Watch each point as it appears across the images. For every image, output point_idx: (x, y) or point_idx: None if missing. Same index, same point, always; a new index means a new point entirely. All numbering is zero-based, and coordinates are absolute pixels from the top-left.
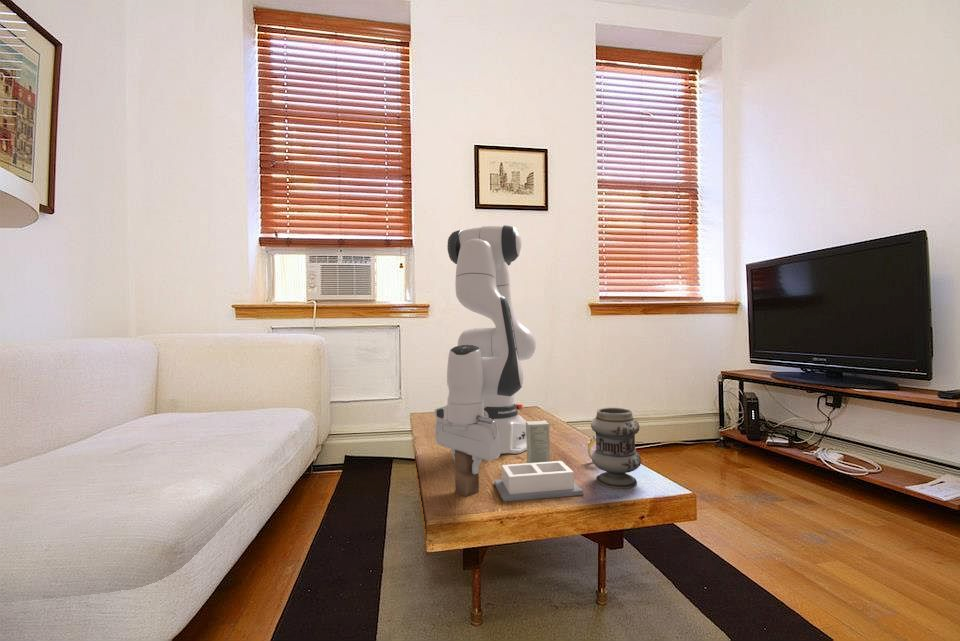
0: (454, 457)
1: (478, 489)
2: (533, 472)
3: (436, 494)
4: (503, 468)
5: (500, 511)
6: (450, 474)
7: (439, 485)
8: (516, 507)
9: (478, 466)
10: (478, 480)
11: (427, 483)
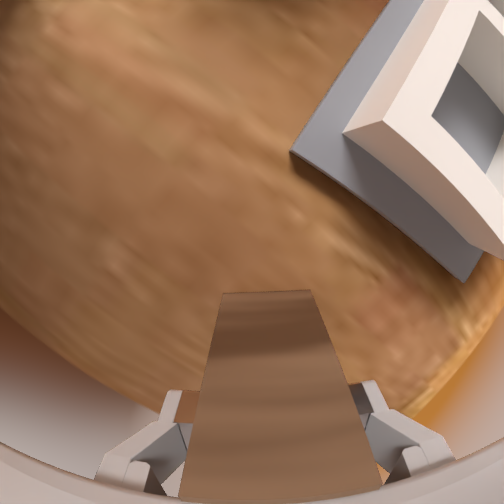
0: (165, 471)
1: (312, 296)
2: (498, 56)
3: None
4: (430, 164)
5: (473, 333)
6: (39, 246)
7: (125, 361)
8: (498, 274)
9: (385, 408)
10: (321, 318)
11: (86, 372)
